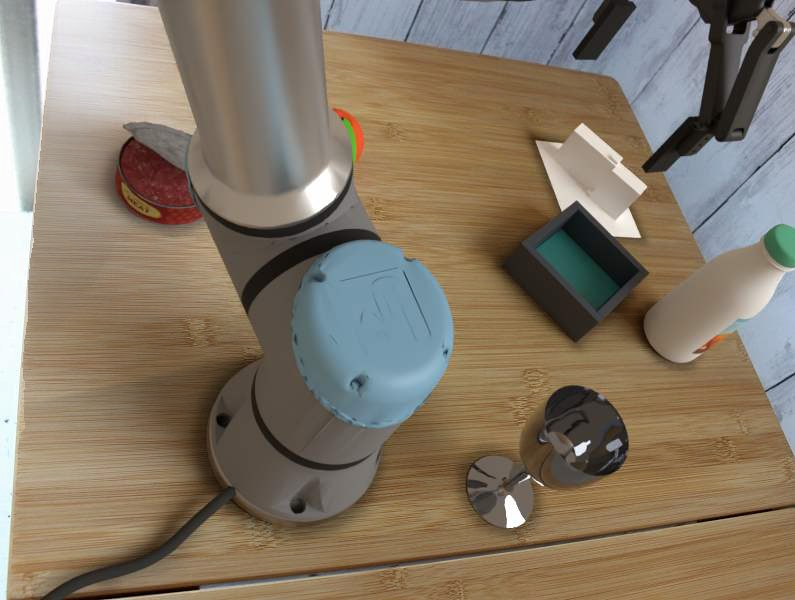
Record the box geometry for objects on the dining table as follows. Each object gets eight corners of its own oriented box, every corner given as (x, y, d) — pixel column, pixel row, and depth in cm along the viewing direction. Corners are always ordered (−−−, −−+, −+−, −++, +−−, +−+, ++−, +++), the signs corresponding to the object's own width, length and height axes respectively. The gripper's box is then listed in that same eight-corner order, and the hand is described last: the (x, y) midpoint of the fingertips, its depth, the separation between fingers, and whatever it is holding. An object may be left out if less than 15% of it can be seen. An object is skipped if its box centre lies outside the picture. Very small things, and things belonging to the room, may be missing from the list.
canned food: (109, 196, 85) (95, 102, 80) (205, 180, 89) (198, 90, 84) (137, 248, 77) (124, 148, 72) (241, 228, 81) (236, 132, 76)
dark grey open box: (575, 343, 93) (599, 322, 89) (501, 265, 95) (521, 242, 91) (626, 293, 100) (649, 272, 97) (556, 222, 102) (576, 199, 98)
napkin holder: (533, 140, 109) (556, 110, 104) (603, 147, 114) (627, 118, 109) (570, 235, 102) (596, 207, 97) (642, 237, 107) (670, 211, 102)
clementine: (366, 188, 93) (389, 146, 87) (313, 199, 89) (333, 156, 84) (335, 133, 96) (356, 89, 90) (281, 141, 92) (300, 96, 86)
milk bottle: (656, 367, 96) (784, 273, 80) (631, 309, 99) (749, 208, 84) (705, 363, 99) (837, 272, 84) (680, 307, 103) (801, 210, 87)
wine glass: (537, 462, 82) (625, 398, 71) (537, 540, 78) (632, 486, 66) (464, 442, 80) (543, 374, 69) (460, 522, 76) (544, 463, 64)
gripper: (919, 36, 58) (713, 216, 74) (731, -188, 68) (585, 15, 84) (859, 34, 54) (656, 224, 71) (668, -203, 64) (528, 13, 80)
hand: (617, 111), depth 77 cm, fingers open, 13 cm apart
